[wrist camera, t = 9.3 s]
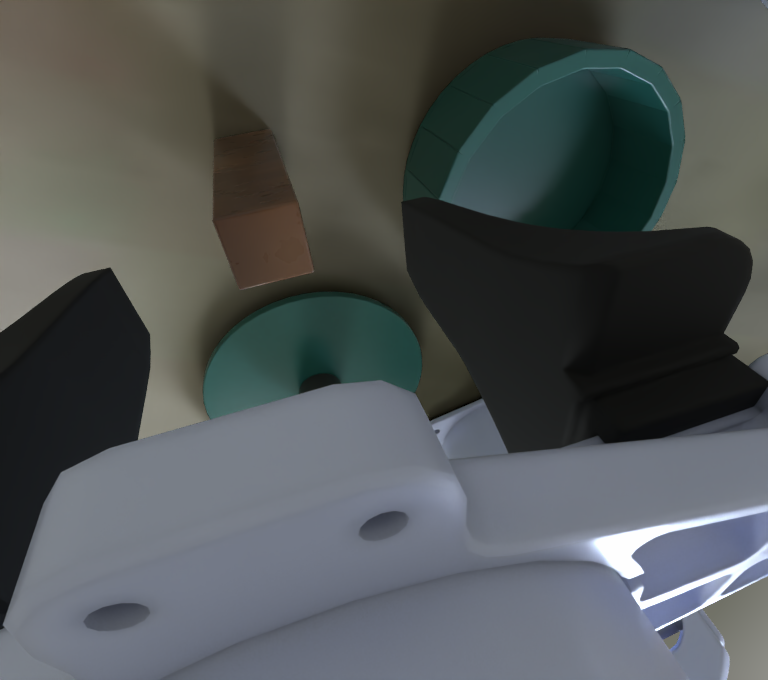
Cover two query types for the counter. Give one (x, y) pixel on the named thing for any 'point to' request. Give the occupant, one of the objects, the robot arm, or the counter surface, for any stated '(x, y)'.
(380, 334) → the tin lid
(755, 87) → the counter surface
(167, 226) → the counter surface
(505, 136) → the tin
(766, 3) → the plastic bottle
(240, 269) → the stick
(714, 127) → the counter surface
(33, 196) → the counter surface
